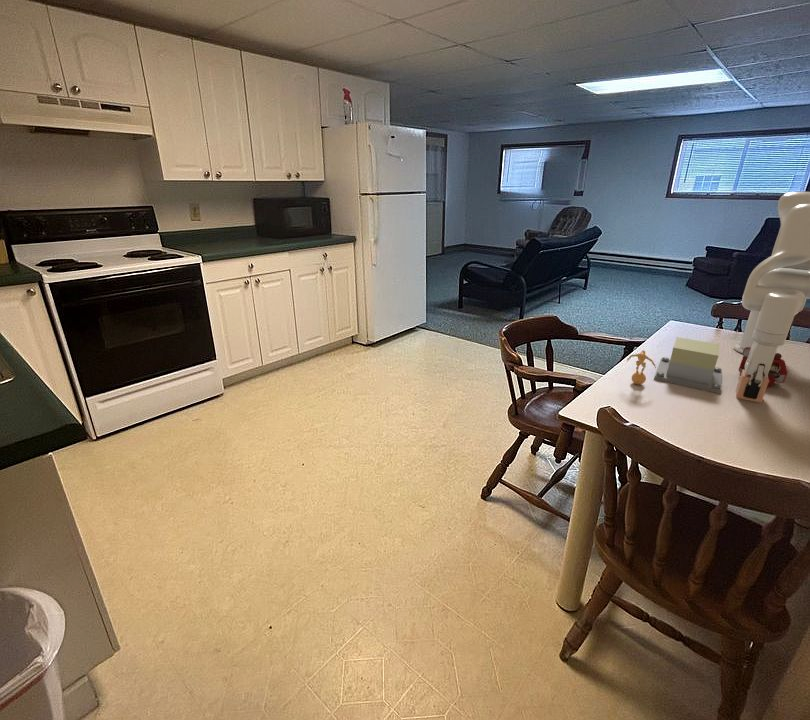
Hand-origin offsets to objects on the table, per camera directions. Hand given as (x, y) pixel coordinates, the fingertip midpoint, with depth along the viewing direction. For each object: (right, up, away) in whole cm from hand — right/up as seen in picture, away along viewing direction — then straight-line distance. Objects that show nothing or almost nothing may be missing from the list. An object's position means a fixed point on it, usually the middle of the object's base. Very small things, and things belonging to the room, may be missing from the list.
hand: (749, 392), depth 131 cm
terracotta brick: (0, -1, 0) cm, 1 cm away
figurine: (-30, +2, +7) cm, 31 cm away
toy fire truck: (+11, +3, +11) cm, 15 cm away
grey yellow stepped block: (-10, +4, +13) cm, 17 cm away
